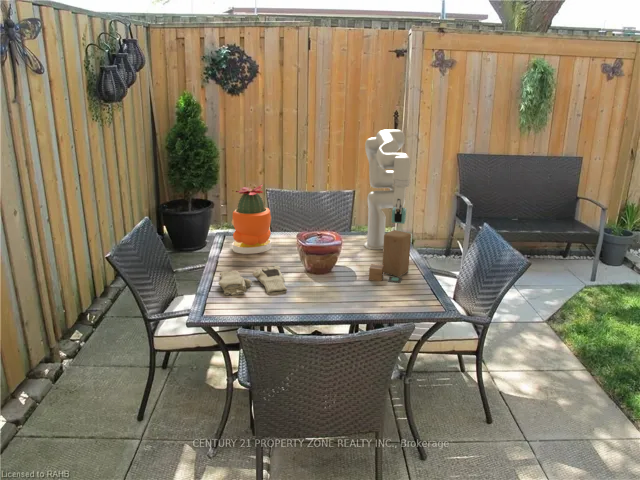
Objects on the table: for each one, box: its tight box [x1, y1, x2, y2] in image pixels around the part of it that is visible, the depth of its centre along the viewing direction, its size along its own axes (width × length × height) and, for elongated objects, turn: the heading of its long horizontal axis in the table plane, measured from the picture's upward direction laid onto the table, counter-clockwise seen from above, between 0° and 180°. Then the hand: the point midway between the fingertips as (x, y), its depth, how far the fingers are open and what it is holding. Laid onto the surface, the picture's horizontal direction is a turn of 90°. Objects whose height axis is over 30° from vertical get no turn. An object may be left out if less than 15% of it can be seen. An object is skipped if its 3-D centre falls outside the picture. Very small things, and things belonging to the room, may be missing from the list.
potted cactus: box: [231, 184, 272, 255], centre depth 287 cm, size 22×22×35 cm
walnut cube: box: [368, 263, 384, 282], centre depth 255 cm, size 6×6×6 cm
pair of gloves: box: [218, 265, 288, 297], centre depth 247 cm, size 30×26×5 cm
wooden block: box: [381, 229, 412, 278], centre depth 261 cm, size 10×10×20 cm
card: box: [387, 275, 403, 284], centre depth 254 cm, size 6×6×1 cm
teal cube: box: [391, 207, 407, 225], centre depth 255 cm, size 6×6×6 cm
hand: (398, 219), depth 255 cm, fingers closed on teal cube, 6 cm apart
